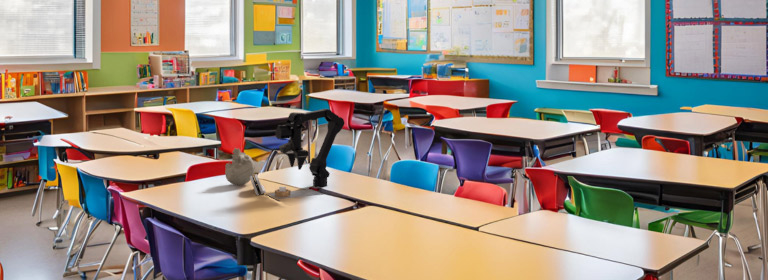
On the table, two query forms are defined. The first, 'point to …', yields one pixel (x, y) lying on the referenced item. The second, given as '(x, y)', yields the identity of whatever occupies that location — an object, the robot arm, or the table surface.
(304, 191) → the base
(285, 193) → the ring
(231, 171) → the grey lumpy stone
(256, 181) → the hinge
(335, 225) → the table surface
